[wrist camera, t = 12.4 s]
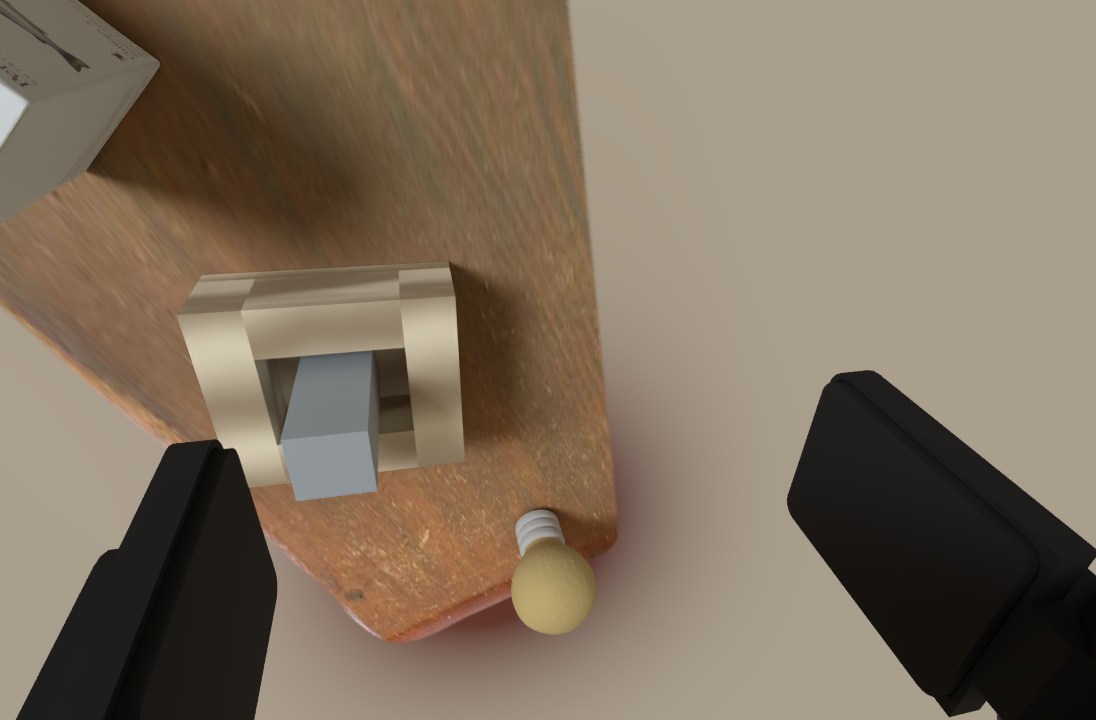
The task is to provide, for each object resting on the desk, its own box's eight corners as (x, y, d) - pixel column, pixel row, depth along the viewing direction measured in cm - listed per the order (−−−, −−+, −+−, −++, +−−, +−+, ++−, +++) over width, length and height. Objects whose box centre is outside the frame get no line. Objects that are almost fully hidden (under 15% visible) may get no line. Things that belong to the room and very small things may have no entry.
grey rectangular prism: (305, 337, 37) (280, 440, 28) (372, 332, 38) (367, 430, 29) (316, 390, 39) (296, 501, 31) (380, 384, 40) (377, 491, 31)
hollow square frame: (202, 275, 34) (176, 315, 30) (448, 261, 37) (455, 296, 33) (250, 438, 41) (235, 489, 37) (457, 415, 44) (464, 461, 39)
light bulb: (485, 538, 51) (503, 646, 43) (521, 484, 49) (547, 587, 40) (548, 552, 54) (577, 656, 45) (585, 503, 51) (622, 603, 43)
